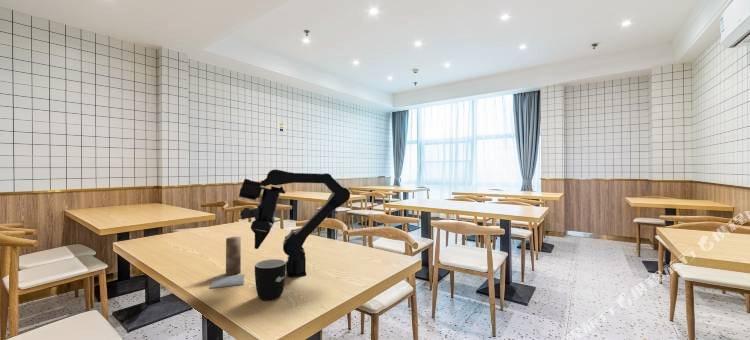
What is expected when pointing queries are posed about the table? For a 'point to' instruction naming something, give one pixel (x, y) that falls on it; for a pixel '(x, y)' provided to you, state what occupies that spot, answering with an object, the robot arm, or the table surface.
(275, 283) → the mug
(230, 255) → the post
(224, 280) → the mat
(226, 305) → the table surface
